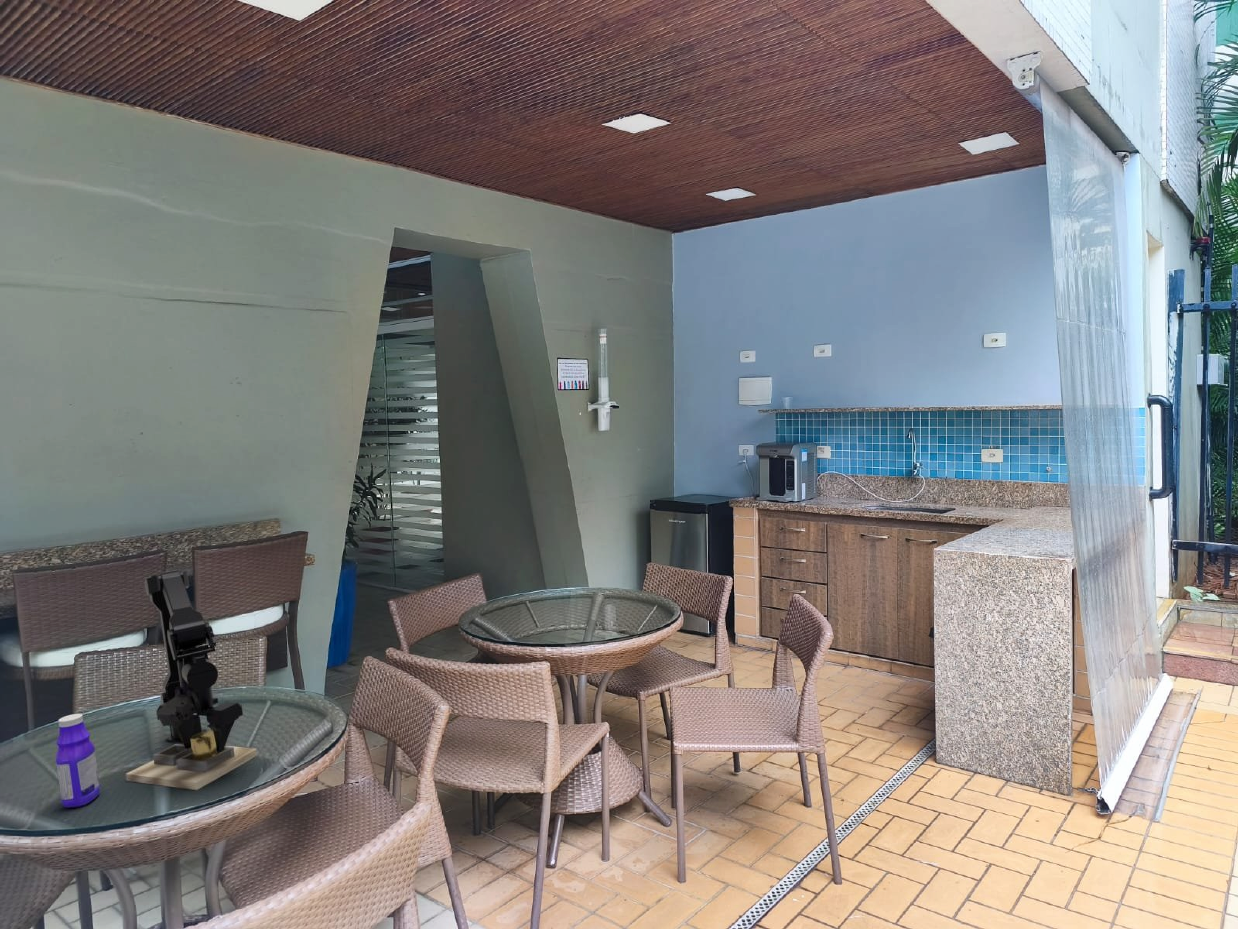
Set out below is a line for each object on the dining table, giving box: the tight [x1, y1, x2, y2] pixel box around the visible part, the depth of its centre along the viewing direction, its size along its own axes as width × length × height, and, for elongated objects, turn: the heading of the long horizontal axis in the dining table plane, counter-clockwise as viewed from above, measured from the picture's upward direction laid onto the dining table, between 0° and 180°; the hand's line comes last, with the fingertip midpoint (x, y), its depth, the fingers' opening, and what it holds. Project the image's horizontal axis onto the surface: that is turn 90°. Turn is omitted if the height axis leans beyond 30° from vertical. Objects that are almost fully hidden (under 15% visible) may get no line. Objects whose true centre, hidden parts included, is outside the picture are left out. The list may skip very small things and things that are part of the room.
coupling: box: [190, 730, 217, 761], centre depth 177 cm, size 5×5×6 cm
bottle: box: [55, 713, 101, 809], centre depth 167 cm, size 7×6×17 cm
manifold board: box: [125, 743, 258, 791], centre depth 179 cm, size 20×16×4 cm
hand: (204, 750), depth 177 cm, fingers open, 9 cm apart
